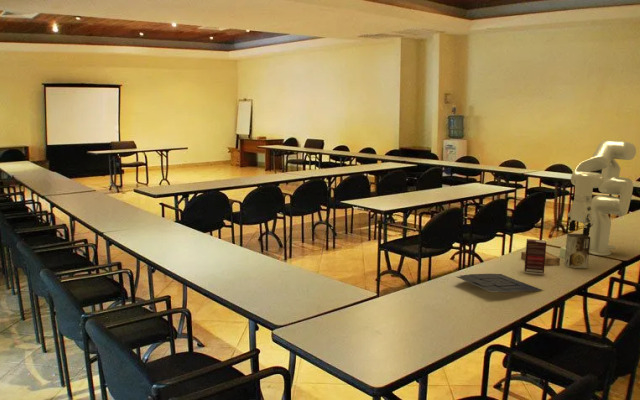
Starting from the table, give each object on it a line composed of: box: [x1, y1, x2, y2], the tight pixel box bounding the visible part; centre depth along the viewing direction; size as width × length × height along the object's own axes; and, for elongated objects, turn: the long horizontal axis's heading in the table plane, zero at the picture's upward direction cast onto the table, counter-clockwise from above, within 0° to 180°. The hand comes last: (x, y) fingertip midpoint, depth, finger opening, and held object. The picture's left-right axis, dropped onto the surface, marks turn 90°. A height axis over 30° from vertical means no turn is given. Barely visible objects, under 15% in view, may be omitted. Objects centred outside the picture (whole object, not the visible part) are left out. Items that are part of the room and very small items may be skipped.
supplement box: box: [523, 238, 547, 276], centre depth 242 cm, size 9×5×16 cm, turn 71°
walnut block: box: [520, 251, 561, 267], centre depth 261 cm, size 13×13×4 cm
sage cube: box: [559, 246, 566, 260], centre depth 268 cm, size 5×5×5 cm
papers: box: [456, 273, 543, 293], centre depth 223 cm, size 24×30×4 cm
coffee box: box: [563, 233, 590, 269], centre depth 253 cm, size 9×6×16 cm
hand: (578, 233), depth 251 cm, fingers open, 9 cm apart
